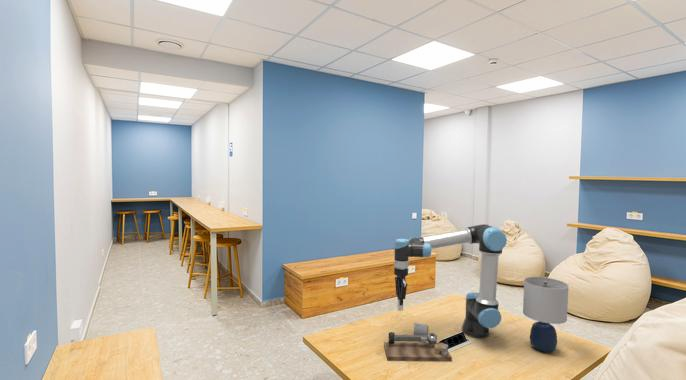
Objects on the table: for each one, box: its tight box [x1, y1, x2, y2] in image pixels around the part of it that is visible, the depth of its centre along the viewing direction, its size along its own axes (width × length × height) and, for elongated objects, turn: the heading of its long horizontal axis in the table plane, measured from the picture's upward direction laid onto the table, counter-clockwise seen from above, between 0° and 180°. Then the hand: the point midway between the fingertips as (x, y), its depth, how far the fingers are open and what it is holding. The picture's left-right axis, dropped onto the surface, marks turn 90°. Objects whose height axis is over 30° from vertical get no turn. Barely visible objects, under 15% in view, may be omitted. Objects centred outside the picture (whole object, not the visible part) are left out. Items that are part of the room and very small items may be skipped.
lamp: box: [522, 276, 569, 353], centre depth 188 cm, size 20×20×37 cm
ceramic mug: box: [413, 322, 429, 335], centre depth 202 cm, size 11×8×8 cm
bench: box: [383, 341, 453, 362], centre depth 183 cm, size 32×15×6 cm, turn 90°
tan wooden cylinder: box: [435, 344, 442, 354], centre depth 180 cm, size 4×4×4 cm
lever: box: [387, 331, 438, 344], centre depth 187 cm, size 26×5×5 cm, turn 90°
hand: (400, 310), depth 193 cm, fingers closed
